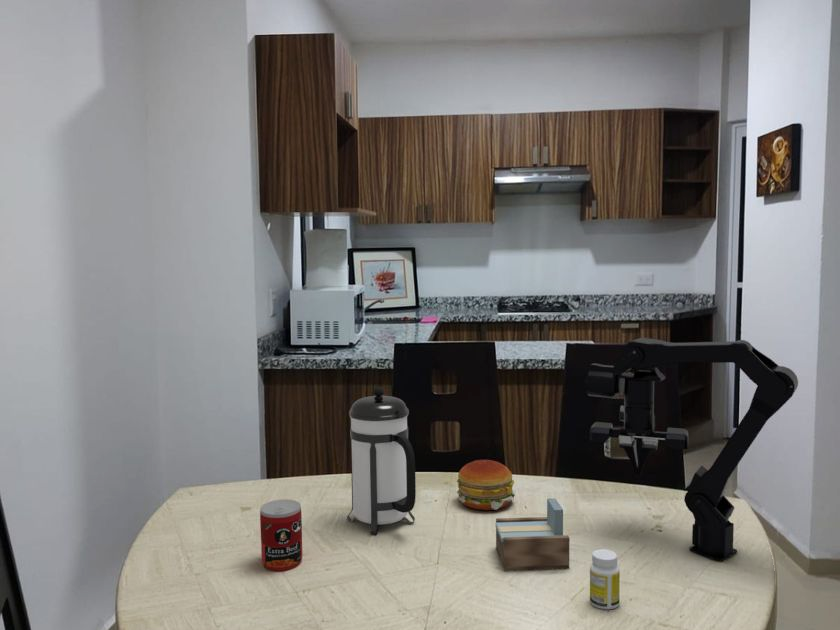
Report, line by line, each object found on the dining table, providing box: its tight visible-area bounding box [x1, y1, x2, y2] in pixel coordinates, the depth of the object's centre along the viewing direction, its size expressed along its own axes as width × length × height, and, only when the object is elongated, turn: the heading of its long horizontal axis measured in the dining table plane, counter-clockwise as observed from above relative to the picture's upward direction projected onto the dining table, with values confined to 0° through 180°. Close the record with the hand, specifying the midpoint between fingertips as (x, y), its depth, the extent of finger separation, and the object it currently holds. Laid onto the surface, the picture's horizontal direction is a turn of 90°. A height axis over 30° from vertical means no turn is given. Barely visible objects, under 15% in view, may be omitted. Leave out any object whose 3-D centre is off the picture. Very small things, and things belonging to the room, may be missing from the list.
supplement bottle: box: [589, 548, 621, 610], centre depth 114 cm, size 5×5×8 cm
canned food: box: [259, 498, 304, 572], centre depth 130 cm, size 8×8×11 cm
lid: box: [495, 497, 564, 543], centre depth 130 cm, size 12×7×6 cm, turn 93°
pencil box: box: [495, 516, 570, 572], centre depth 131 cm, size 12×10×6 cm
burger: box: [456, 459, 516, 511], centre depth 160 cm, size 14×14×10 cm
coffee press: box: [346, 386, 417, 536], centre depth 147 cm, size 17×16×30 cm
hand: (638, 476), depth 140 cm, fingers closed
